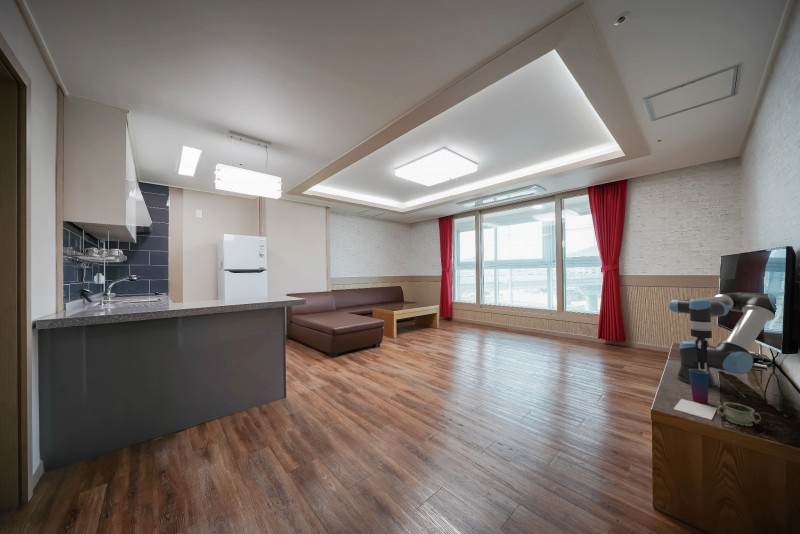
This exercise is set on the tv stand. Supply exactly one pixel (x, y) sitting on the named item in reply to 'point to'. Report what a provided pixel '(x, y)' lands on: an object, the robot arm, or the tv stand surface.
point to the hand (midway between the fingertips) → (703, 374)
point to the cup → (699, 385)
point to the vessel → (739, 414)
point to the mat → (696, 409)
